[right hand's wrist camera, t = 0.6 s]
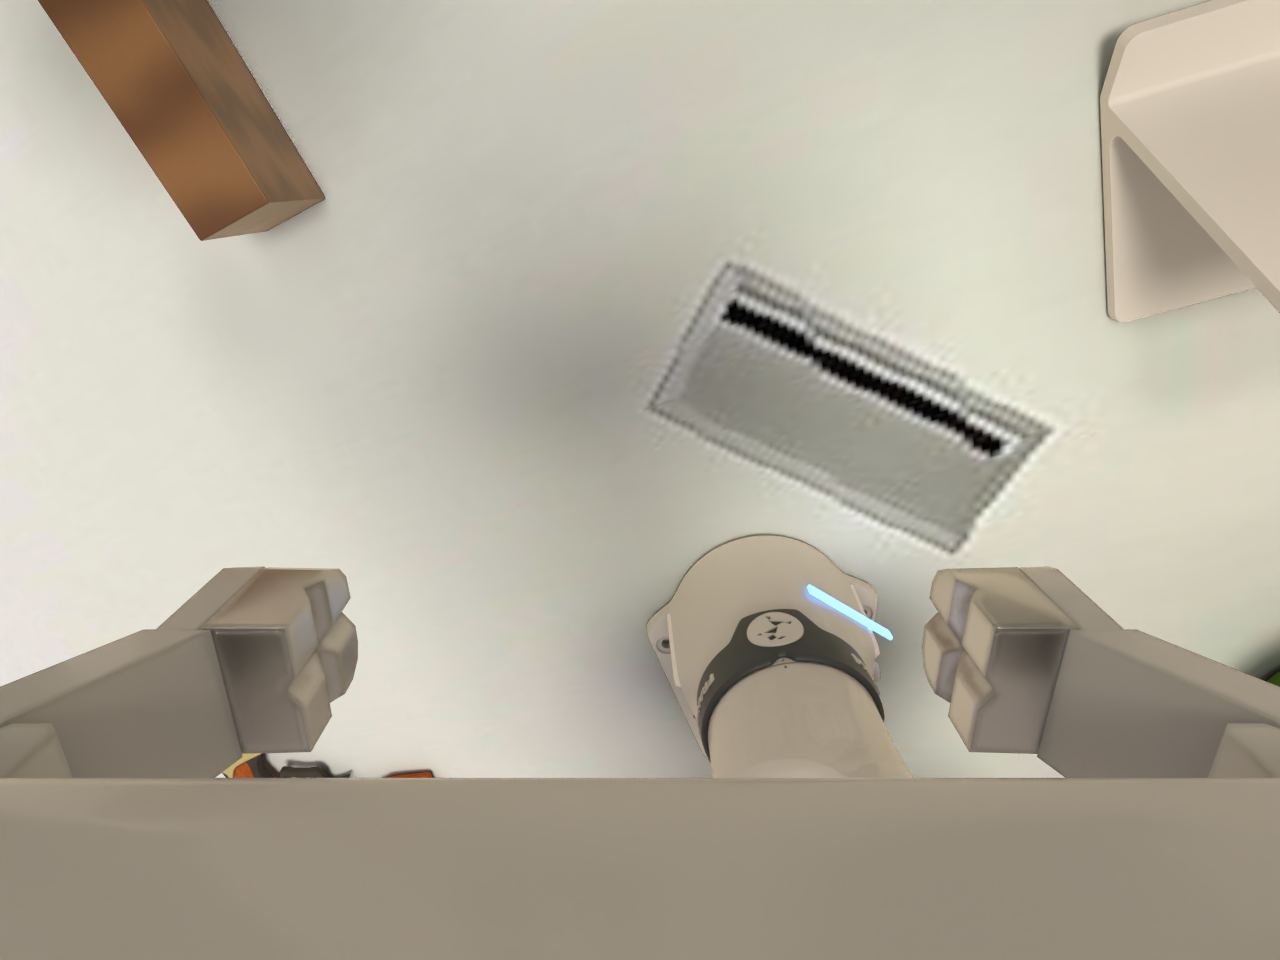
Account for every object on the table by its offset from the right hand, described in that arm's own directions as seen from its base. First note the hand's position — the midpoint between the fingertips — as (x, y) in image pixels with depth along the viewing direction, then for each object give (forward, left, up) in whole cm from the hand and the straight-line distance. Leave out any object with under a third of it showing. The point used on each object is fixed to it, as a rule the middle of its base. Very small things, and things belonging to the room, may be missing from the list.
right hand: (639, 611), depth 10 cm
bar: (+18, +25, -43) cm, 53 cm away
